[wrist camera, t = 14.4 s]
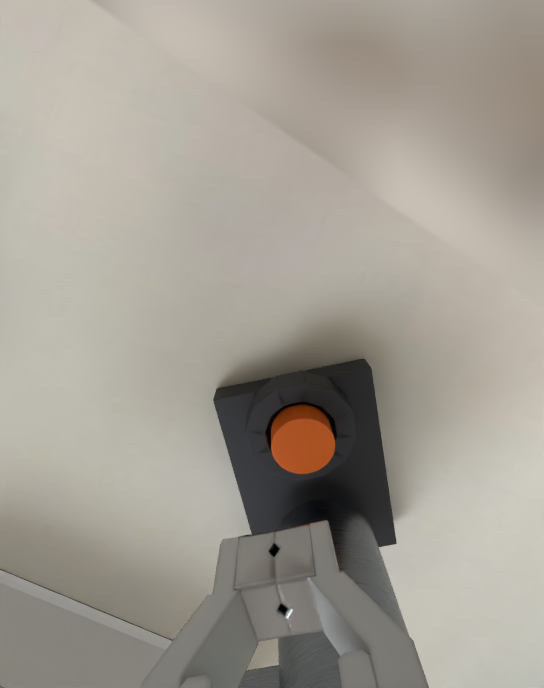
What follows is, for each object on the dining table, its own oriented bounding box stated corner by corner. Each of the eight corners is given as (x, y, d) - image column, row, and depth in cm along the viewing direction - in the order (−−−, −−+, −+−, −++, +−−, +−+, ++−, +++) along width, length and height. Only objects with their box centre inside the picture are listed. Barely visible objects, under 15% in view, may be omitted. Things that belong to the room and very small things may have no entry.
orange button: (265, 410, 23) (265, 425, 21) (325, 398, 22) (329, 412, 21) (277, 461, 24) (278, 479, 22) (335, 450, 24) (340, 467, 22)
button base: (213, 378, 25) (205, 402, 22) (363, 347, 25) (377, 367, 21) (261, 549, 30) (261, 590, 26) (389, 526, 29) (405, 565, 26)
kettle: (236, 513, 24) (208, 792, 13) (365, 490, 24) (463, 755, 12) (262, 600, 27) (259, 904, 15) (380, 580, 26) (474, 876, 14)
